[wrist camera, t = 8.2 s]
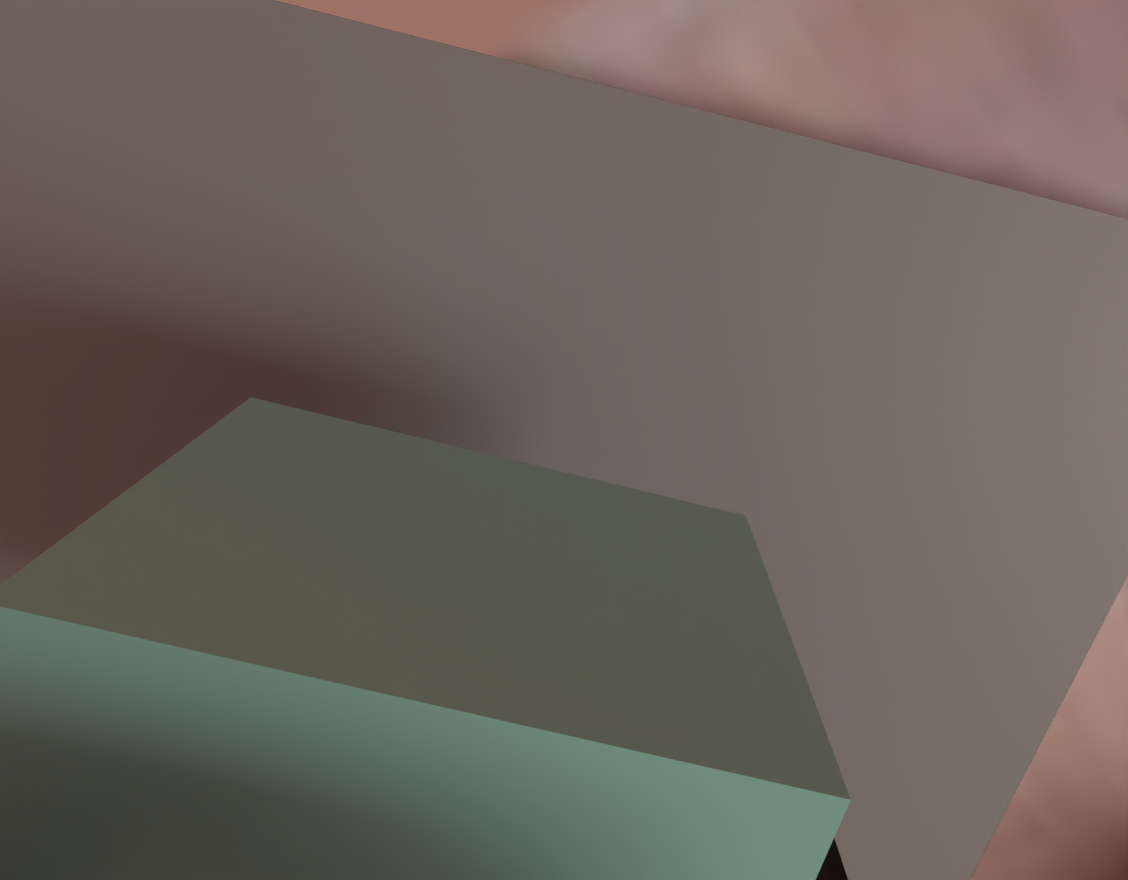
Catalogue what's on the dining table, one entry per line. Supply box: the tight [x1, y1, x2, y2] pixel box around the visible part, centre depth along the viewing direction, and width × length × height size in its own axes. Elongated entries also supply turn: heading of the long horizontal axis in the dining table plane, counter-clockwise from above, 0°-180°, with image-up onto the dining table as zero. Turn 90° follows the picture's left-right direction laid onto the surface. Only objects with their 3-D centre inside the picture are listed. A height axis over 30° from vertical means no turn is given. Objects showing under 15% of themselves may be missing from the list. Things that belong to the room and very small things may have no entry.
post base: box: [0, 0, 1128, 880], centre depth 15 cm, size 22×16×6 cm
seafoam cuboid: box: [0, 398, 851, 880], centre depth 10 cm, size 6×6×5 cm
